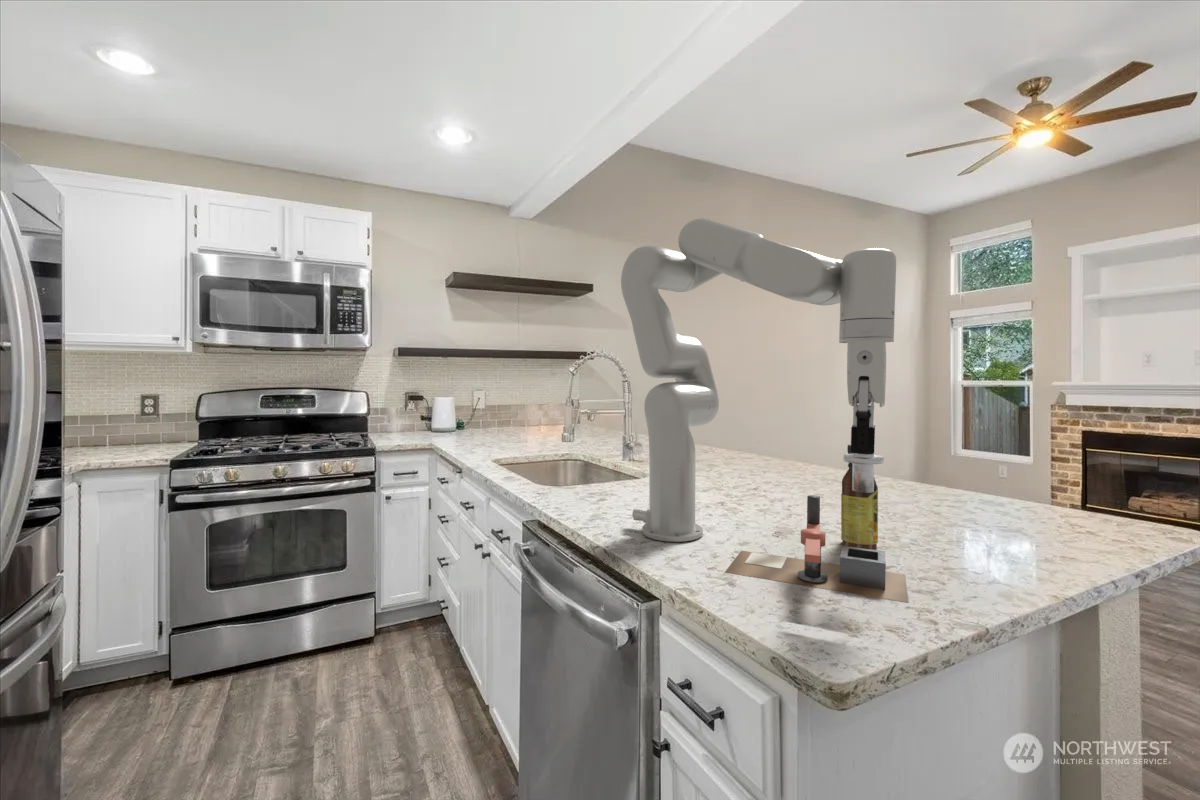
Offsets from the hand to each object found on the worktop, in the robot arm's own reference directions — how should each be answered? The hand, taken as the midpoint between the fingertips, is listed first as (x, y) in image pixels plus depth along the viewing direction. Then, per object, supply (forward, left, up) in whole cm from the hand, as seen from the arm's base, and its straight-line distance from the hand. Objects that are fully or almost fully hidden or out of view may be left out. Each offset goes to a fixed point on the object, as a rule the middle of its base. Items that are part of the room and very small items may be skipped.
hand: (862, 450), depth 83 cm
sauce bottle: (-1, +19, -21) cm, 29 cm away
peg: (0, 0, -6) cm, 6 cm away
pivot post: (-7, -3, -21) cm, 22 cm away
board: (-7, -1, -21) cm, 22 cm away
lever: (-7, -4, -15) cm, 17 cm away
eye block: (0, 0, -21) cm, 21 cm away
